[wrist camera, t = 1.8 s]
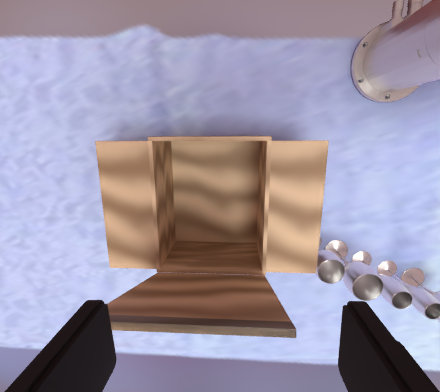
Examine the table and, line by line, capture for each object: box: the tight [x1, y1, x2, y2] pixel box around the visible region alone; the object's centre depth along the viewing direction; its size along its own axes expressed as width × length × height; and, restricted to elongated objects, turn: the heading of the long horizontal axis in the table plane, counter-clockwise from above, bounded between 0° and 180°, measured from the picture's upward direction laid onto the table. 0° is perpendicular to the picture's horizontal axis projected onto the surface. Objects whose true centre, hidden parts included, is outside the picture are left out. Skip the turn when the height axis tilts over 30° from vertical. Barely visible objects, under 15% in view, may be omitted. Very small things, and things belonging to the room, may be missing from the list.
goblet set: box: [315, 237, 440, 322], centre depth 46 cm, size 28×6×13 cm, turn 70°
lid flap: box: [107, 272, 296, 338], centre depth 31 cm, size 22×18×1 cm
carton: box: [95, 136, 329, 275], centre depth 45 cm, size 22×34×12 cm, turn 90°
